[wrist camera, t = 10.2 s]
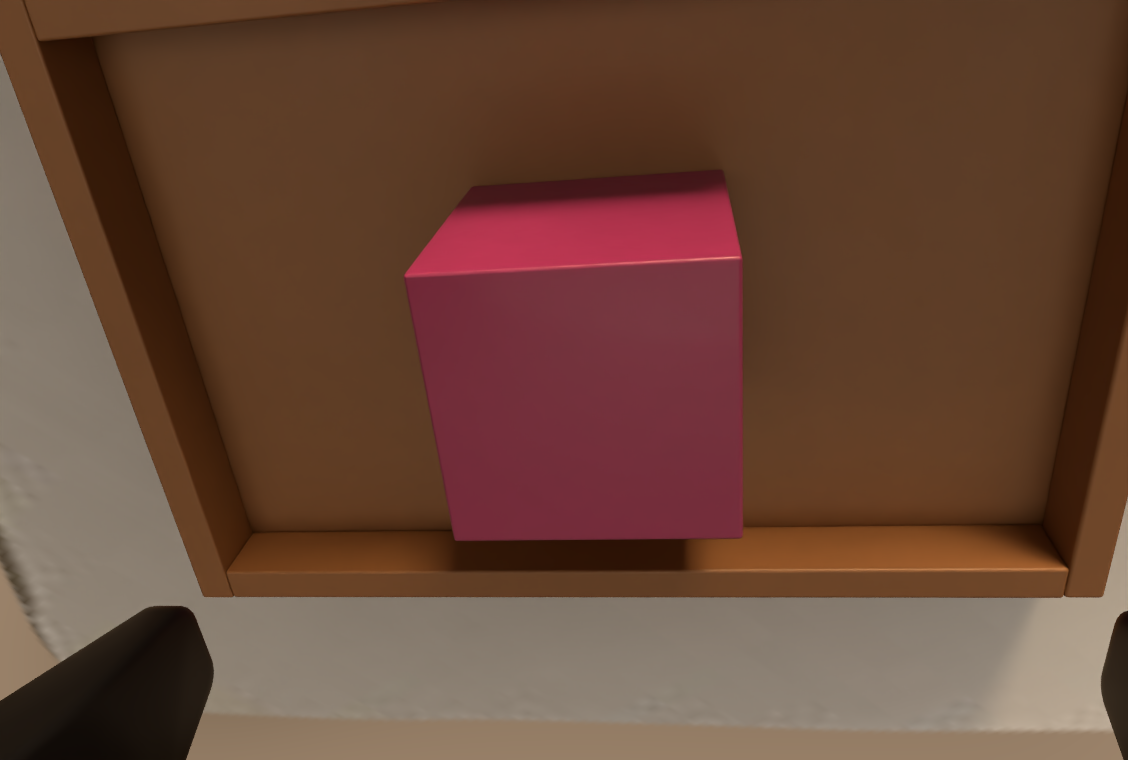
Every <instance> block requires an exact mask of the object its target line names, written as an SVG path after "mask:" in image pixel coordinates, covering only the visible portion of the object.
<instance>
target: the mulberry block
mask: <svg viewBox="0 0 1128 760" xmlns="http://www.w3.org/2000/svg"><path fill="white" fill-rule="evenodd" d="M404 282H405V287H406V292H407V298H408V303H409V308H410V313H411V318H412V323H413V329H414V334H415V339H416V344H417V349H418V355H419V360H420V365H421V370H422V375H423V380H424V386H425V391H426V396H427V401H428V406H429V412H430V417H431V422H432V427H433V432H434V437H435V443H436V448H437V453H438V458H439V463H440V469H441V474H442V479H443V484H444V489H445V494H446V500H447V505H448V510H449V515H450V520H451V526H452V531H453V536H454V539H455V540H456V541H503V540H621V539H739V538H742V536H743V259H742V254H741V249H740V245H739V240H738V236H737V231H736V226H735V222H734V217H733V212H732V208H731V203H730V199H729V194H728V189H727V185H726V180H725V175H724V172H723V170H708V171H693V172H678V173H664V174H649V175H635V176H620V177H605V178H591V179H576V180H561V181H547V182H532V183H517V184H503V185H488V186H473V187H471V188H470V189H469V191H468V192H467V193H466V195H465V196H464V197H463V198H462V200H461V201H460V202H459V204H458V205H457V206H456V208H455V209H454V210H453V211H452V213H451V214H450V215H449V217H448V218H447V219H446V221H445V222H444V223H443V225H442V226H441V227H440V228H439V230H438V231H437V232H436V234H435V235H434V236H433V238H432V239H431V240H430V242H429V243H428V244H427V245H426V247H425V248H424V249H423V251H422V252H421V253H420V255H419V256H418V257H417V259H416V260H415V261H414V262H413V264H412V265H411V266H410V268H409V269H408V270H407V272H406V273H405V274H404Z"/></svg>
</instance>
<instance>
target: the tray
mask: <svg viewBox="0 0 1128 760" xmlns="http://www.w3.org/2000/svg"><path fill="white" fill-rule="evenodd" d="M0 53H1V56H2V58H3V61H4V64H5V66H6V69H7V72H8V75H9V77H10V80H11V83H12V85H13V88H14V91H15V93H16V96H17V99H18V101H19V104H20V107H21V109H22V112H23V115H24V117H25V120H26V123H27V125H28V128H29V131H30V133H31V136H32V139H33V141H34V144H35V147H36V149H37V152H38V155H39V157H40V160H41V163H42V166H43V168H44V171H45V174H46V176H47V179H48V182H49V184H50V187H51V190H52V192H53V195H54V198H55V200H56V203H57V206H58V208H59V211H60V214H61V216H62V219H63V222H64V224H65V227H66V230H67V232H68V235H69V238H70V240H71V243H72V246H73V249H74V251H75V254H76V257H77V259H78V262H79V265H80V267H81V270H82V273H83V275H84V278H85V281H86V283H87V286H88V289H89V291H90V294H91V297H92V299H93V302H94V305H95V307H96V310H97V313H98V315H99V318H100V321H101V323H102V326H103V329H104V331H105V334H106V337H107V340H108V342H109V345H110V348H111V350H112V353H113V356H114V358H115V361H116V364H117V366H118V369H119V372H120V374H121V377H122V380H123V382H124V385H125V388H126V390H127V393H128V396H129V398H130V401H131V404H132V406H133V409H134V412H135V414H136V417H137V420H138V423H139V425H140V428H141V431H142V433H143V436H144V439H145V441H146V444H147V447H148V449H149V452H150V455H151V457H152V460H153V463H154V465H155V468H156V471H157V473H158V476H159V479H160V481H161V484H162V487H163V489H164V492H165V495H166V497H167V500H168V503H169V505H170V508H171V511H172V514H173V516H174V519H175V522H176V524H177V527H178V530H179V532H180V535H181V538H182V540H183V543H184V546H185V548H186V551H187V554H188V556H189V559H190V562H191V564H192V567H193V570H194V572H195V575H196V578H197V580H198V583H199V586H200V588H201V591H202V594H203V596H204V597H233V596H236V597H957V598H1061V597H1063V595H1064V596H1066V597H1102V596H1103V594H1104V590H1105V586H1106V582H1107V578H1108V574H1109V570H1110V566H1111V562H1112V558H1113V554H1114V550H1115V546H1116V542H1117V538H1118V534H1119V530H1120V526H1121V521H1122V517H1123V513H1124V509H1125V505H1126V501H1127V497H1128V0H0ZM708 170H723V172H724V175H725V180H726V185H727V189H728V194H729V199H730V203H731V208H732V212H733V217H734V222H735V226H736V231H737V236H738V240H739V245H740V249H741V254H742V259H743V536H742V538H739V539H621V540H503V541H456V540H455V539H454V536H453V531H452V526H451V520H450V515H449V510H448V505H447V500H446V494H445V489H444V484H443V479H442V474H441V469H440V463H439V458H438V453H437V448H436V443H435V437H434V432H433V427H432V422H431V417H430V412H429V406H428V401H427V396H426V391H425V386H424V380H423V375H422V370H421V365H420V360H419V355H418V349H417V344H416V339H415V334H414V329H413V323H412V318H411V313H410V308H409V303H408V298H407V292H406V287H405V282H404V274H405V273H406V272H407V270H408V269H409V268H410V266H411V265H412V264H413V262H414V261H415V260H416V259H417V257H418V256H419V255H420V253H421V252H422V251H423V249H424V248H425V247H426V245H427V244H428V243H429V242H430V240H431V239H432V238H433V236H434V235H435V234H436V232H437V231H438V230H439V228H440V227H441V226H442V225H443V223H444V222H445V221H446V219H447V218H448V217H449V215H450V214H451V213H452V211H453V210H454V209H455V208H456V206H457V205H458V204H459V202H460V201H461V200H462V198H463V197H464V196H465V195H466V193H467V192H468V191H469V189H470V188H471V187H473V186H488V185H503V184H517V183H532V182H547V181H561V180H576V179H591V178H605V177H620V176H635V175H649V174H664V173H678V172H693V171H708Z"/></svg>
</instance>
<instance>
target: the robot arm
mask: <svg viewBox="0 0 1128 760" xmlns="http://www.w3.org/2000/svg"><path fill="white" fill-rule="evenodd" d="M213 676H214V669H213V662H212V659H211V656H210V654H209V651H208V648H207V646H206V643H205V641H204V638H203V636H202V633H201V630H200V628H199V625H198V623H197V620H196V618H195V616H194V614H193V612H192V611H191V610H189V609H188V608H186V607H183V606H153V607H148V608H146V609H144V610H142V611H141V612H139V613H137V614H136V615H134V616H133V617H131V618H130V619H128V620H126V621H125V622H123V623H122V624H120V625H119V626H117V627H115V628H114V629H112V630H111V631H109V632H108V633H106V634H104V635H103V636H101V637H100V638H98V639H97V640H95V641H93V642H92V643H90V644H89V645H87V646H86V647H84V648H83V649H81V650H79V651H78V652H76V653H75V654H73V655H72V656H70V657H68V658H67V659H65V660H64V661H62V662H61V663H59V664H57V665H56V666H54V667H53V668H51V669H50V670H48V671H46V672H45V673H43V674H42V675H40V676H39V677H37V678H35V679H34V680H32V681H31V682H29V683H28V684H26V685H25V686H23V687H21V688H20V689H18V690H17V691H15V692H14V693H12V694H11V695H9V696H7V697H6V698H4V699H3V700H1V701H0V760H186V758H187V755H188V752H189V749H190V746H191V744H192V741H193V738H194V735H195V733H196V730H197V727H198V724H199V721H200V718H201V716H202V713H203V710H204V707H205V704H206V702H207V699H208V696H209V693H210V690H211V687H212V683H213ZM1101 692H1102V697H1103V702H1104V705H1105V708H1106V711H1107V714H1108V716H1109V719H1110V722H1111V725H1112V728H1113V731H1114V734H1115V736H1116V739H1117V742H1118V745H1119V748H1120V751H1121V753H1122V756H1123V759H1124V760H1128V611H1126V612H1123V613H1122V614H1120V616H1119V617H1118V618H1117V620H1116V622H1115V625H1114V629H1113V633H1112V636H1111V640H1110V644H1109V648H1108V652H1107V656H1106V660H1105V663H1104V667H1103V671H1102V676H1101Z"/></svg>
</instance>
